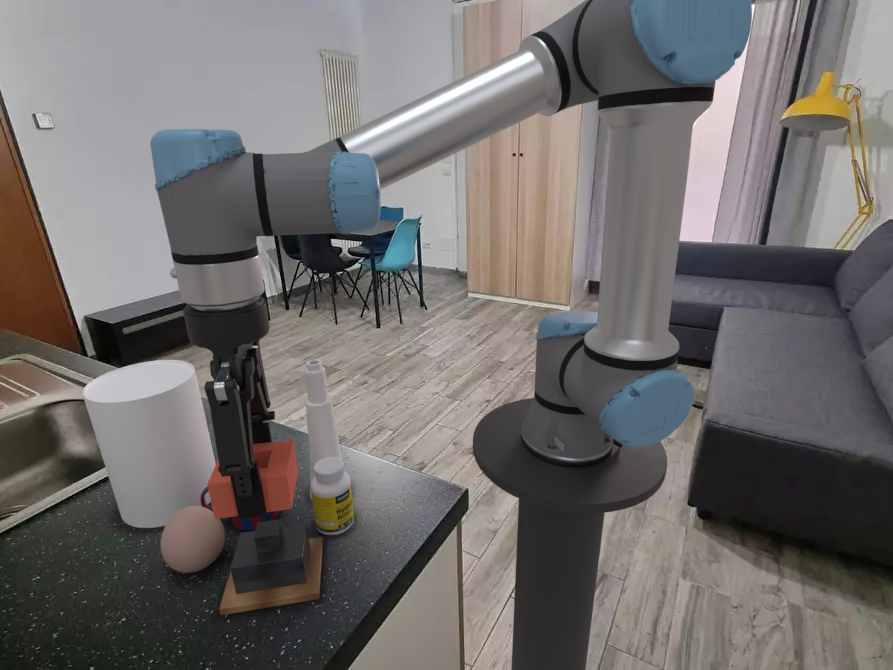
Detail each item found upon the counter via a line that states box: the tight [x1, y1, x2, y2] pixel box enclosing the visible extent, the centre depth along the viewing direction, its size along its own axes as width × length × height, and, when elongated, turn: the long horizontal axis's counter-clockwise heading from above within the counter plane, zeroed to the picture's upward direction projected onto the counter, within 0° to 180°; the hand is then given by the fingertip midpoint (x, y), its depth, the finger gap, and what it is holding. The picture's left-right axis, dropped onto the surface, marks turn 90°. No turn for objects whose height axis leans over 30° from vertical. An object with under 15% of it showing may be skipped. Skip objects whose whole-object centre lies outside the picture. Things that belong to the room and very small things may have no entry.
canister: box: [81, 359, 217, 529], centre depth 71 cm, size 14×14×20 cm
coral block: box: [207, 439, 299, 519], centre depth 55 cm, size 8×7×4 cm
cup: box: [200, 486, 282, 532], centre depth 69 cm, size 7×10×7 cm
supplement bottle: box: [310, 457, 355, 536], centre depth 67 cm, size 5×5×10 cm
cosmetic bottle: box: [304, 358, 343, 500], centre depth 71 cm, size 6×6×22 cm
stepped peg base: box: [218, 518, 324, 616], centre depth 59 cm, size 11×9×8 cm
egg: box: [159, 506, 226, 574], centre depth 61 cm, size 7×7×8 cm
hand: (258, 491), depth 56 cm, fingers closed on coral block, 7 cm apart
